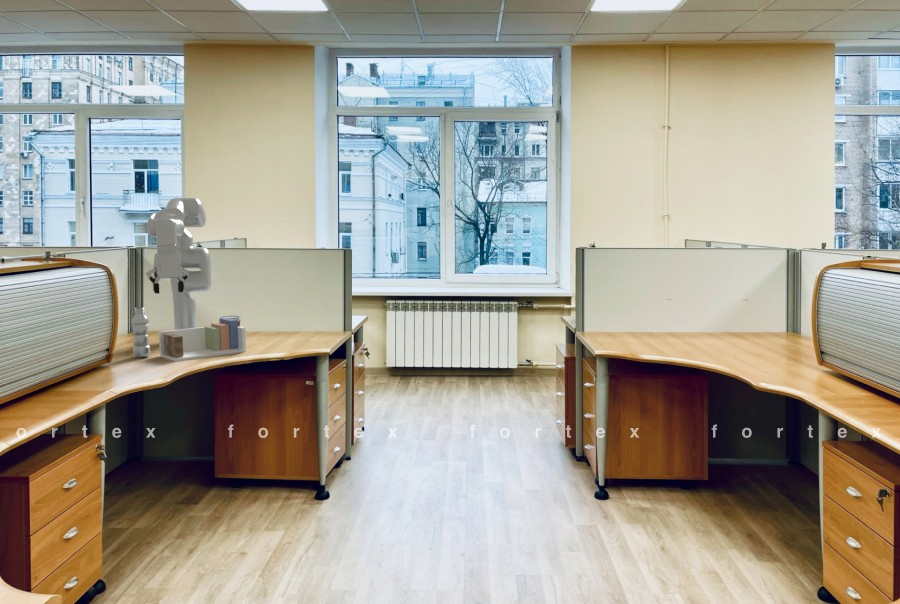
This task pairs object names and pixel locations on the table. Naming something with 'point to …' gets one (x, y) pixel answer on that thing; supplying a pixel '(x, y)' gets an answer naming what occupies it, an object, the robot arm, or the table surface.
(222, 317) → the disposable coffee cup
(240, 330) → the shelf
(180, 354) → the bookend
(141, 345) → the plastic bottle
